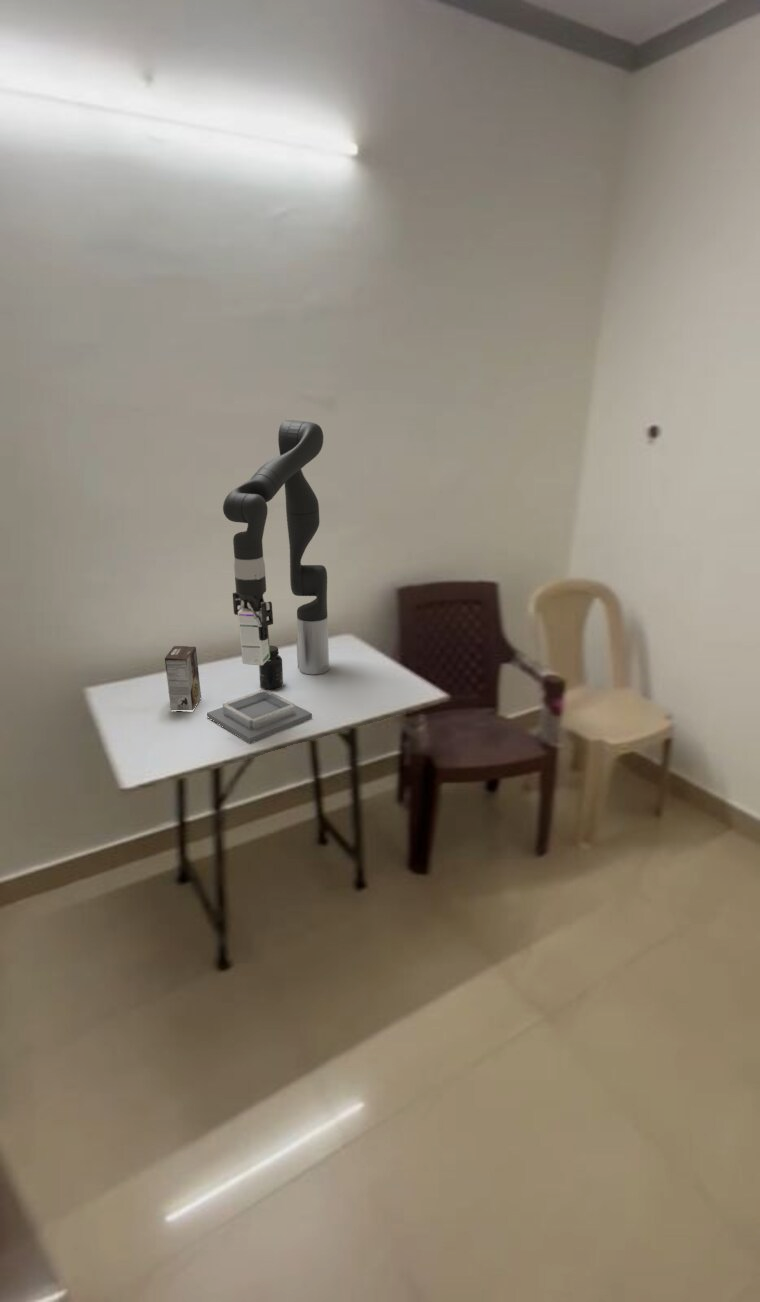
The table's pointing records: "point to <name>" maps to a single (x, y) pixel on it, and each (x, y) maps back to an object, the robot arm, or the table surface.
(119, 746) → the table surface
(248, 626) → the syrup box
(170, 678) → the coffee box
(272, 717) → the frame
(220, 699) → the table surface
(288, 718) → the plate
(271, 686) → the supplement bottle
